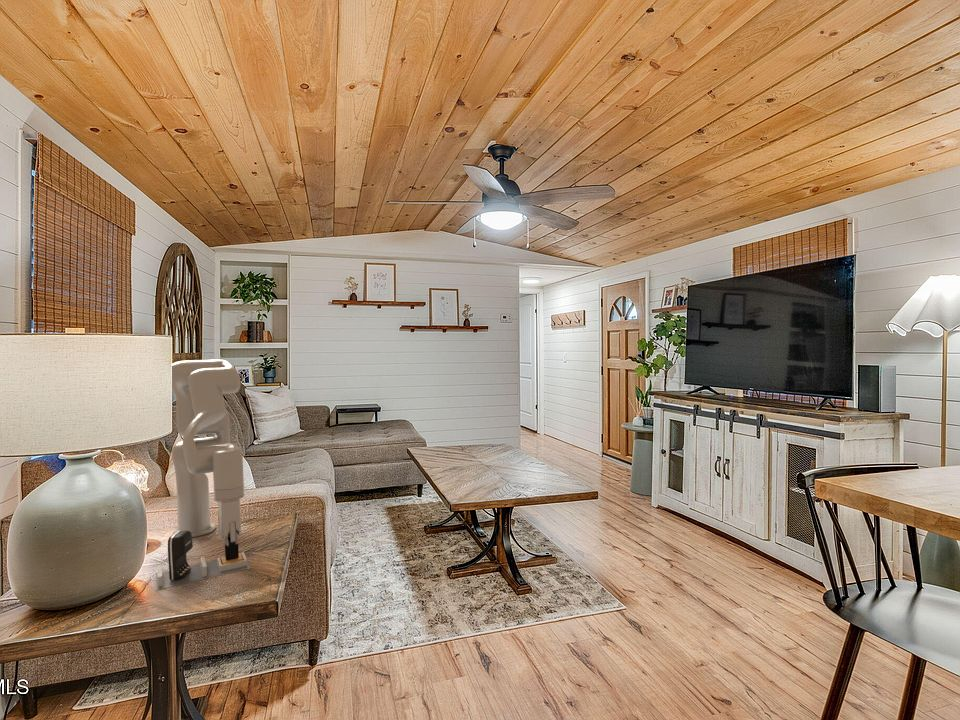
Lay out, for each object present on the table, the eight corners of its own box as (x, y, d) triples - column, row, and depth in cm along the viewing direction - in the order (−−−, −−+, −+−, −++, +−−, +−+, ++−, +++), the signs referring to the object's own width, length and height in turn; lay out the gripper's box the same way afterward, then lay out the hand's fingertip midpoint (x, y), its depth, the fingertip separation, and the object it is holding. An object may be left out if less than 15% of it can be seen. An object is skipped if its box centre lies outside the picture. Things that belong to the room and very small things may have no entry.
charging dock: (156, 578, 138) (155, 564, 138) (245, 558, 150) (244, 545, 150) (155, 596, 128) (155, 580, 128) (251, 573, 139) (250, 559, 139)
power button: (221, 561, 143) (221, 557, 143) (240, 557, 146) (240, 553, 146) (223, 567, 139) (222, 563, 139) (243, 563, 142) (242, 558, 142)
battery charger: (184, 580, 133) (182, 537, 133) (168, 581, 132) (166, 538, 132) (195, 569, 140) (193, 527, 140) (180, 570, 139) (178, 528, 139)
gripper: (211, 489, 146) (214, 553, 147) (216, 501, 134) (219, 571, 134) (240, 485, 150) (243, 547, 151) (247, 496, 138) (250, 564, 138)
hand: (232, 558), depth 142 cm, fingers closed
